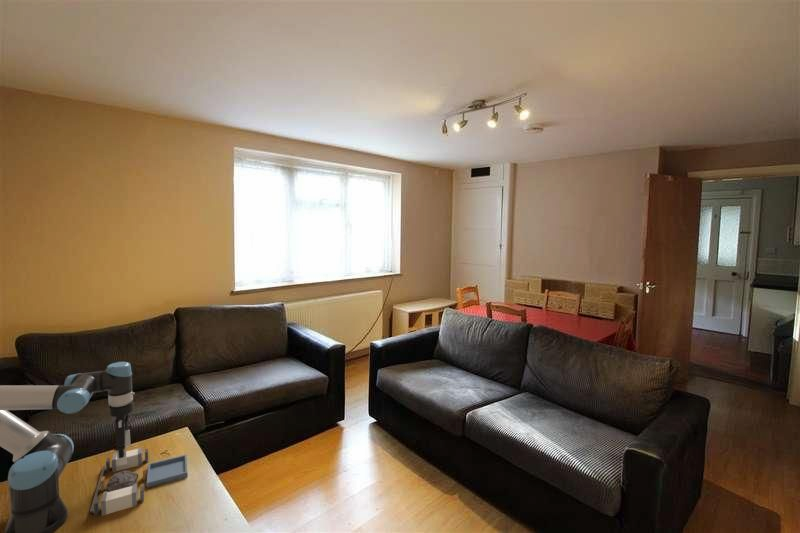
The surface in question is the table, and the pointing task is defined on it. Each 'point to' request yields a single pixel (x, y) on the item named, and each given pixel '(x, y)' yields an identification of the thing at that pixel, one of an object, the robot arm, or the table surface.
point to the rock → (121, 480)
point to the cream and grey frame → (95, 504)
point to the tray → (167, 470)
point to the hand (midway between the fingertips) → (124, 454)
